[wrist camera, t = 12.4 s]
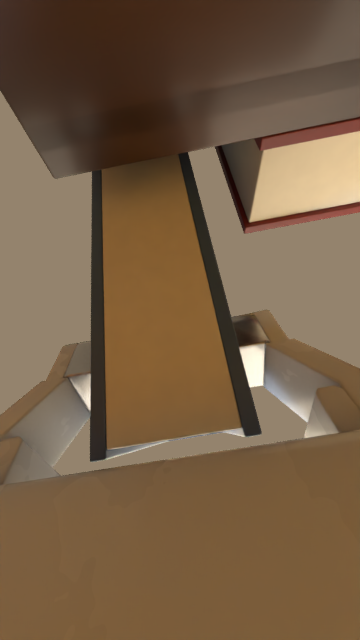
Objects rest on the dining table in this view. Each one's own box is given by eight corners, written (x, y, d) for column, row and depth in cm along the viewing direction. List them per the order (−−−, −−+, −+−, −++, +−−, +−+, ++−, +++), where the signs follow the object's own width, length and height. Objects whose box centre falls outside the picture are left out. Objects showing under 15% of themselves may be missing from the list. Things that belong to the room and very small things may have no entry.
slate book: (262, 434, 5) (228, 431, 15) (160, 49, 14) (179, 199, 23) (88, 462, 6) (163, 441, 15) (92, 64, 14) (138, 208, 23)
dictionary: (572, 75, 7) (448, 195, 11) (374, -40, 12) (335, 68, 16) (261, 138, 7) (244, 234, 11) (194, 0, 12) (198, 97, 16)
